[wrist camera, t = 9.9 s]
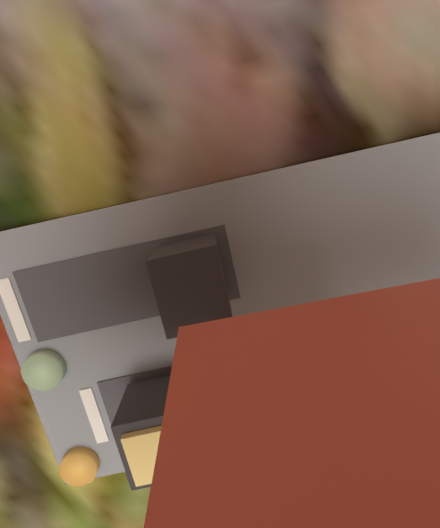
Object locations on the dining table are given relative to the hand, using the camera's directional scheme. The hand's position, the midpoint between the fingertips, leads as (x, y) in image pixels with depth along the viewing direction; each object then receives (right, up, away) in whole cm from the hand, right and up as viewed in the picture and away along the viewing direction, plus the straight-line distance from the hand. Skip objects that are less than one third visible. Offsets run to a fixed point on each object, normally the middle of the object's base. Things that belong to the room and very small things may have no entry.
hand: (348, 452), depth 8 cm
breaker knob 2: (-4, +4, +8) cm, 9 cm away
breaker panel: (-1, +2, +10) cm, 10 cm away
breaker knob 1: (-6, -3, +9) cm, 11 cm away
